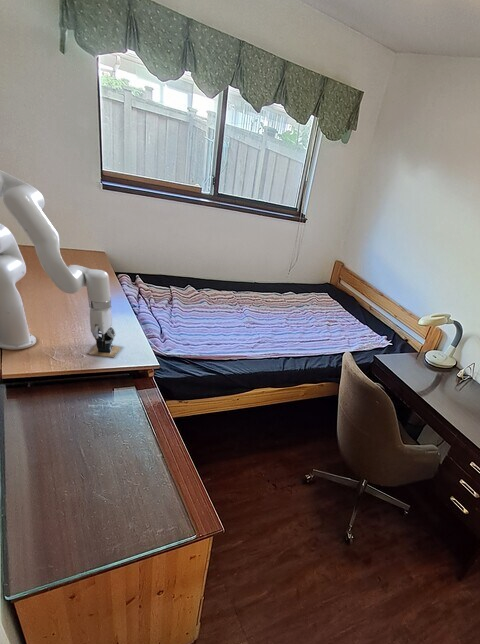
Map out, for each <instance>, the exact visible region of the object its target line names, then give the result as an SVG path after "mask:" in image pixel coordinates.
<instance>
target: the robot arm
mask: <svg viewBox="0 0 480 644" xmlns="http://www.w3.org/2000/svg"><path fill="white" fill-rule="evenodd" d="M0 198H1V199H2V202H3V204H4V206H5V208H6V209H7V210H8V212H9V213H10V214H11V216H12V218H14V220H15V221H16V223H17V224H18V225H19V226H20V228H21V229H22V231H23V232H24V233H25V235H26V236H27V238H28V239H29V240H30V241H31V243H32V244H33V246H34V250H35V254H36V255H37V258H38V261H39V263H40V265H41V268H42V269H43V271H44V272H45V274H46V275H47V276H48V278H49V279H50V280H51V282H52V283H53V284H54V285H55V286H56V287H57V288H58V289H59V290H60V291H61V292H62V293H65V294H69V295H71V294H73V295H74V294H76V293H78V292H79V291H81V289H82V288H83V287H86V293H87V302H88V307H89V329H90V332H91V334H92V333H94V335H92V336H93V339H94V340H95V343H96V344H97V348H98V349H106V344H105V340H111V339H112V338H111V337H110V336H109V335H108V334H107V333H106V332H107V331H108V329H110V328H111V327H113V314H112V309H113V308H112V299H111V298H112V296H111V286H110V276H109V274H108V273H107V272H106V271H105V270H102V269H96V268H94V269H93V268H88V267H86V266H82V265H79V264H70V265H67V264H66V262H65V261H64V259H63V257H62V253H61V250H60V249H61V248H60V247H61V246H60V235H59V232H58V231H57V230H56V228H55V227H54V226H53V224H52V222H51V221H50V220H49V218H48V217H47V215H46V214H45V212H44V211H43V209H44V208H45V205H46V204H45V203H46V201H45V198H44V195H43V193H41V192H40V191H39V190H38V189H37V188H36V187H35V186H33V185H32V184H29V183H27V182H26V181H23V180H21V178H18V177H16V176H14V175H11V174H9V173H8V172H5V171H3V169H2V170H1V169H0ZM26 274H27V266H26V262H25V260H24V258H23V255H22V253H21V250H20V248H19V245H18V243H17V240H16V238H15V236H14V234H13V233H12V232H11V230H10V229H9V228H8V227H7V226H5V225H4V224H3V223H0V349H4V350H10V351H11V350H12V351H13V350H14V351H16V350H24V349H28V348H31V347H32V346H34V345H35V344H36V343H37V337H36V336H35V335H34V334H31V332H30V329H29V325H28V321H27V315H26V313H25V307H24V304H23V299H22V296H21V294H20V292H19V290H18V288H17V286H16V283H17V282H19V281H20V280H22V279H23V278H24V277H25V276H26ZM100 335H101V336H100ZM96 344H95V345H96Z"/></svg>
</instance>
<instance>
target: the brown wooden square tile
mask: <svg viewBox="0 0 480 644" xmlns="http://www.w3.org/2000/svg"><path fill="white" fill-rule="evenodd" d="M121 349H122V346H118V345H112V349H111V352H110V353H105V352H98V348H97V344H94V346H93V347H92V348H91V349H90V350H89V351H88V353H87V355H92V356H98V357H105V358H112V359H114V358H115V357H116V355H117V354H118V353H119V351H120V350H121Z"/></svg>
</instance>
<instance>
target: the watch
mask: <svg viewBox="0 0 480 644" xmlns="http://www.w3.org/2000/svg"><path fill="white" fill-rule="evenodd" d="M106 333H107V334H108V335H109V336H110V337H111V338H112V339H111V340H105V344H106V349H98V352H105V353H110V352H111V349H112V346H113V341H114V340H115V337H116V332H115V330H114V328H113V326H111V328H110V329H108V331H107V332H106ZM91 334H92V336H93V335H94V333H92V332H91Z"/></svg>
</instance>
